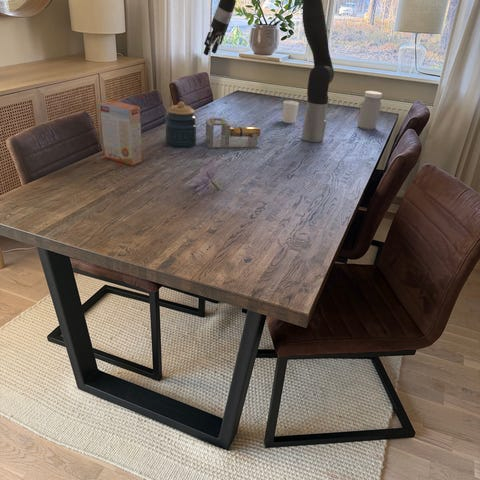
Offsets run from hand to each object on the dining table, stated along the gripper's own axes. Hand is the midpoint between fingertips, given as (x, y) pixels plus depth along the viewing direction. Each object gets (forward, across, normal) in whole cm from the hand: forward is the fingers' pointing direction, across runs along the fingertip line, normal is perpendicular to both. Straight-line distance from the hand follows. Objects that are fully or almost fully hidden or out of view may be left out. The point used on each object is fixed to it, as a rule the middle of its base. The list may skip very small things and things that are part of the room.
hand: (209, 53), depth 210 cm
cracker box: (+28, -73, -11) cm, 79 cm away
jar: (+4, +37, -82) cm, 90 cm away
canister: (+26, -43, -19) cm, 54 cm away
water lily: (+15, -81, -47) cm, 95 cm away
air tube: (+15, -28, -39) cm, 50 cm away
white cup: (+17, +21, -46) cm, 53 cm away
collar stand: (+19, -31, -36) cm, 51 cm away
